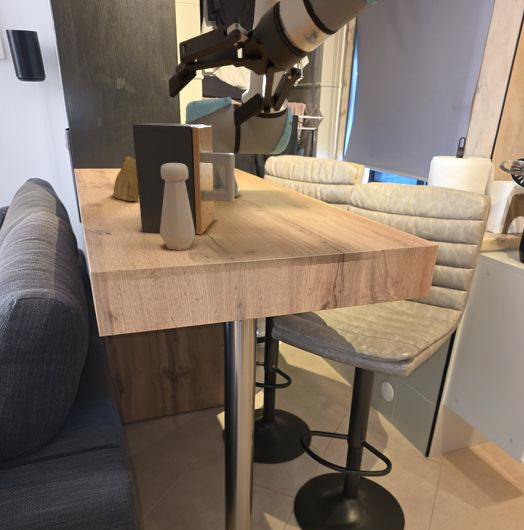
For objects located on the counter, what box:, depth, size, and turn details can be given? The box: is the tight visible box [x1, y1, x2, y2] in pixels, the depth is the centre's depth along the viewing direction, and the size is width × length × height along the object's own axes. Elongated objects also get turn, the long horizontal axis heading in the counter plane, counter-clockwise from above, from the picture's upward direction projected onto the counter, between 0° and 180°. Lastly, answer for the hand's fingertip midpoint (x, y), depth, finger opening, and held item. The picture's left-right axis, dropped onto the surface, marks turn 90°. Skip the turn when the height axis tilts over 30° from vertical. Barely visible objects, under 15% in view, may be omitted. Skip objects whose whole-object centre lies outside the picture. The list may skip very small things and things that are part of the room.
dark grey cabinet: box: [131, 122, 205, 235], centre depth 86 cm, size 10×13×18 cm
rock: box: [111, 155, 139, 202], centre depth 113 cm, size 11×9×10 cm
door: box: [192, 126, 235, 235], centre depth 85 cm, size 7×13×18 cm, turn 176°
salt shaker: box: [159, 163, 196, 251], centre depth 73 cm, size 6×6×13 cm
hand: (205, 105), depth 78 cm, fingers open, 13 cm apart
